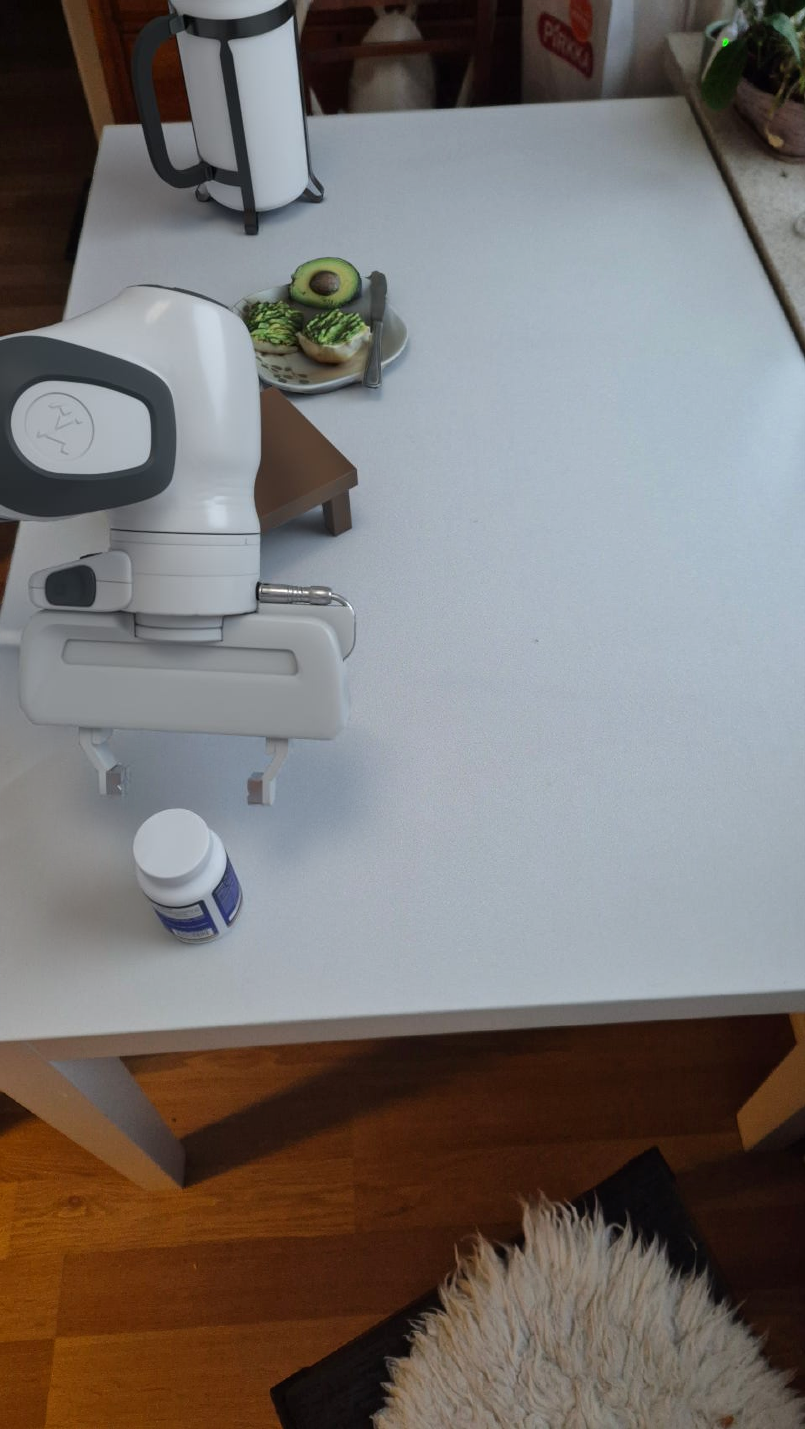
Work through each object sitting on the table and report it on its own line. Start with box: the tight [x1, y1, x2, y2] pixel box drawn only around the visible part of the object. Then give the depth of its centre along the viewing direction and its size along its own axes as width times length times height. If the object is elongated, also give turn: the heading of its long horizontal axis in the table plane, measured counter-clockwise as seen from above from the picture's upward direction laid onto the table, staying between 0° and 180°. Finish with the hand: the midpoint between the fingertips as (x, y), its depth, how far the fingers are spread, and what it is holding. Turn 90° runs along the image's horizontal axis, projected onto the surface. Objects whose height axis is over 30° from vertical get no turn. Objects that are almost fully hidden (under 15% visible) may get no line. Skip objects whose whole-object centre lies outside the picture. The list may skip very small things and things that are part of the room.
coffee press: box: [130, 0, 325, 234], centre depth 104 cm, size 17×16×30 cm
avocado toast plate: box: [231, 256, 409, 395], centre depth 100 cm, size 19×18×5 cm
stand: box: [254, 385, 359, 537], centre depth 86 cm, size 13×13×7 cm
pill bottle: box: [132, 807, 244, 944], centre depth 65 cm, size 6×6×10 cm
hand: (187, 799), depth 64 cm, fingers open, 8 cm apart
